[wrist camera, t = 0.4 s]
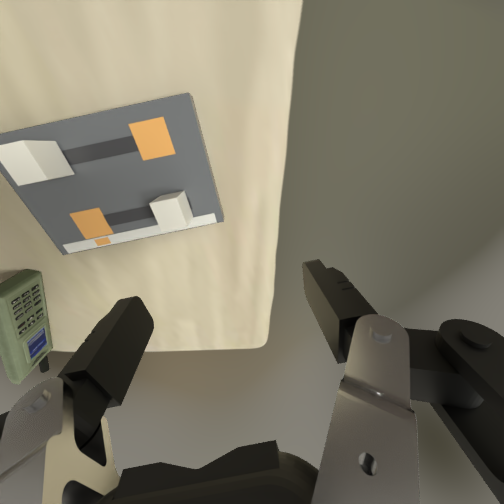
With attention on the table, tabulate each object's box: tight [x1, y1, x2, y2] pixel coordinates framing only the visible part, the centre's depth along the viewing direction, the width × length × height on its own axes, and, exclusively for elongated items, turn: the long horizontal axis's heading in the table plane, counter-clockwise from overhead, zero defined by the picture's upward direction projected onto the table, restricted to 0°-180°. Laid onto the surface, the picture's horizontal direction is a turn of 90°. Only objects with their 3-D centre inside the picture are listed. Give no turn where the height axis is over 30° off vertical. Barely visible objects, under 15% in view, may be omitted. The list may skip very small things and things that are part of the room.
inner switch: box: [0, 140, 74, 186], centre depth 22 cm, size 4×3×4 cm
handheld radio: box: [0, 269, 53, 384], centre depth 35 cm, size 7×3×25 cm
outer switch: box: [149, 191, 193, 232], centre depth 25 cm, size 4×3×4 cm
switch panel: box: [0, 93, 224, 255], centre depth 26 cm, size 15×24×2 cm, turn 101°
